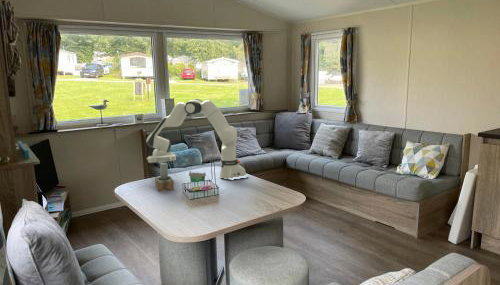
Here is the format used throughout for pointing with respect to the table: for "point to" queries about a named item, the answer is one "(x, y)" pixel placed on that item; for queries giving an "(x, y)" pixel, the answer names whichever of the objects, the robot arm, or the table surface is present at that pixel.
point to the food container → (197, 177)
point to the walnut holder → (164, 184)
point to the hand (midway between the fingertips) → (163, 160)
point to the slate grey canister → (163, 171)
